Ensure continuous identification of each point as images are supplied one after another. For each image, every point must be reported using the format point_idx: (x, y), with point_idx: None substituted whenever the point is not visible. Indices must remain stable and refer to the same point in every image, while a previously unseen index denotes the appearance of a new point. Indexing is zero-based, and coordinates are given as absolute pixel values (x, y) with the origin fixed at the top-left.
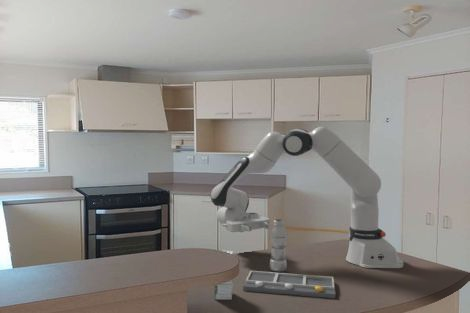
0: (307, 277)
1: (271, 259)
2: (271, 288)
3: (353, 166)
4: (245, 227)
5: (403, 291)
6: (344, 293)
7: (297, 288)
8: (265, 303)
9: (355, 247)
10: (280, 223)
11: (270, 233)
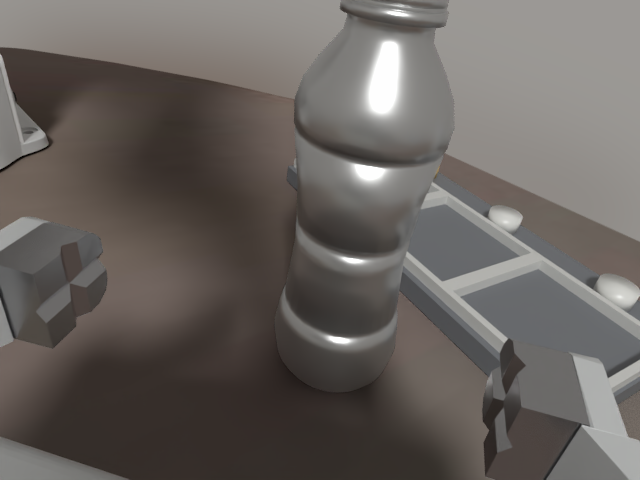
0: None
1: (391, 319)
2: (570, 258)
3: None
4: (633, 459)
5: (225, 99)
6: None
7: (474, 208)
8: (632, 257)
9: None
10: None
11: (441, 133)
